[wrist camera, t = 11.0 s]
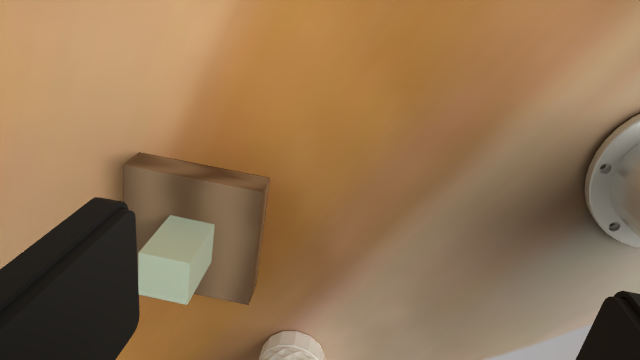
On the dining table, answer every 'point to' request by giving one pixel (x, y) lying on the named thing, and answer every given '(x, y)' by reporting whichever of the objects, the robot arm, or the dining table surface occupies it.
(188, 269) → the sage block
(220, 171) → the walnut base
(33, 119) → the dining table surface
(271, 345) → the white cup
